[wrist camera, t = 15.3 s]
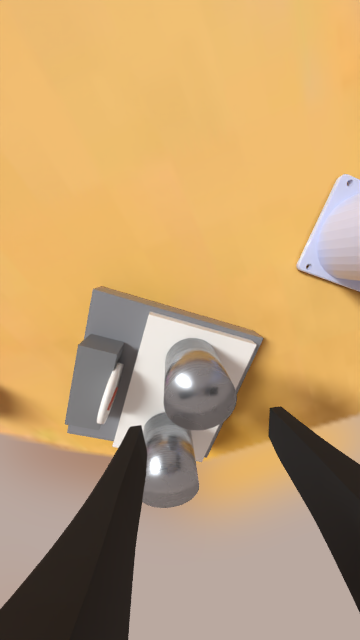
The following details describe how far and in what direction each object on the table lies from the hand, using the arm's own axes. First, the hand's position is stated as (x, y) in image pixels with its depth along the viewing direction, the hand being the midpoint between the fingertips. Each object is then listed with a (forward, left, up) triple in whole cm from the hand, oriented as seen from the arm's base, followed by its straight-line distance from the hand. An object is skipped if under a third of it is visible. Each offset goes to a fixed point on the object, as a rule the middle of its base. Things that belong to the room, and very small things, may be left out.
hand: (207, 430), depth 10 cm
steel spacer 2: (0, 0, -7) cm, 7 cm away
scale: (+2, +4, -10) cm, 11 cm away
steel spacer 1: (0, +8, -7) cm, 10 cm away
